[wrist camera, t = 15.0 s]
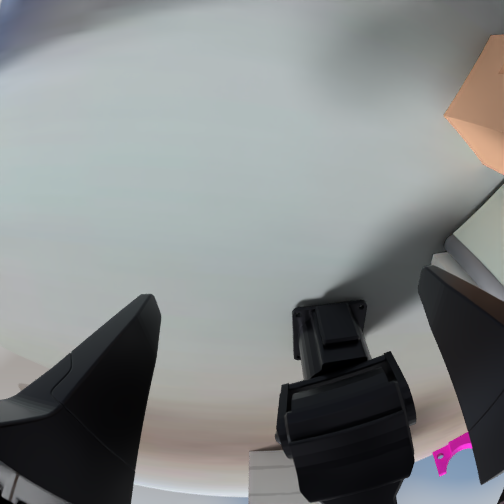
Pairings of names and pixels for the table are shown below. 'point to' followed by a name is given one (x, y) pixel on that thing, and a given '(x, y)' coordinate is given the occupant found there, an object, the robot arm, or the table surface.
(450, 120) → the tan stair step
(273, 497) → the pizza boxes
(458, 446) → the toy block
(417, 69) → the table surface
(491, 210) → the door
